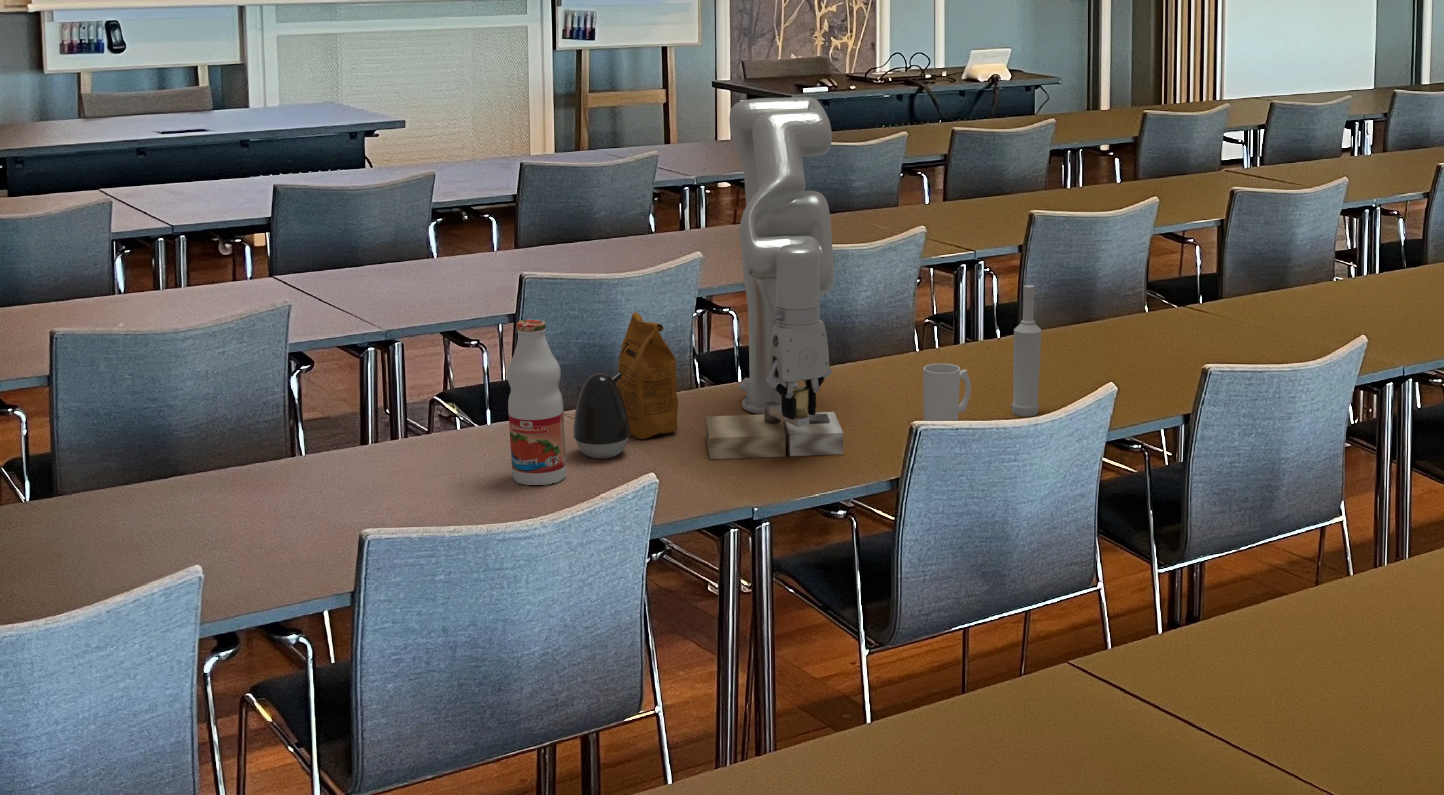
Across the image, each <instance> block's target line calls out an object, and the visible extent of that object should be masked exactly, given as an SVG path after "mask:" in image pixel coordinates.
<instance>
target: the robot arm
mask: <svg viewBox="0 0 1444 795" xmlns="http://www.w3.org/2000/svg"><path fill="white" fill-rule="evenodd" d="M728 119H729V131H730V137H731V140H732V143H733V147H734V149H735V152H736V154H737V157H738V159H739V162H740V164H741V167H742V170H743V176H744V192H745V208H744V210H743V212H742V215H741V219H740V224H739V240H740V241H739V242H740V250H741V259H742V264H743V265H742V274H743V275H742V276H743V281H744V287H745V288H744V289H745V294H746V300H747V314H748V317H747V318H748V354H749V356H748V357H749V358H748V361H749V362H748V363H749V364H748V365H749V368H748V369H749V371H748V372H749V377H745V378H743V380H742V382H740V383H738V389H739V390H740V391H746V392H745V393H746V397H744V398H742V401H741V407H742V408H743V410H745V411H747V412H749V413H753V414H755V415H762V414H764V411H762V403H765V402H770V401H775V402H779V403H780V404H781V407H782V415H783V416H784V417H786V418H789V419H791V420H793V419H795V398H793V397H792V395H793V387H795V386H799V382H803V383H804V387H807V388H809V414H810V415H815V412H816V408H817V393H819V391H820V387H821V386H822V384H823V383H824V382H825V380H826V379H828V378H829V376H830V375H831V374H832V373H833V371H832V369H831V367H830V357H829V356H830V355H829V353H830V352H829V344H828V338H827V337H828V335H827V331H826V326H825V323H824V320H822V319H820V315H821V314H820V312H821V311H820V296H822V295H825V294H826V295H827V294H828V293H829V292H830V291H831V290H833V286H834V281H835V266H834V253H833V252H834V251H833V238H832V222H831V213H830V207H829V204H828V201H827V199H826V196H824V195H823V194H822V193H821V192H819V191H815V190H805V189H806V180H805V178H806V177H805V173H804V166H803V157H819V156H820V157H821V156H822V157H823V156H824V155H826V154H828V153H829V151H830V148H831V147H832V146H831V145H832V140H833V138H832V137H833V132H832V126H831V122H830V119H829V117H828V115H827V112H826V111H825V109H824V107H823V106H822V105H821V103H820V101H819V100H818V99H816V98H815V97H810V96H802V97H801V96H796V97H795V96H793V97H792V96H791V97H761V98H760V97H759V98H751V99H750V98H749V99H745V100H742V101H738V102H737V103H735V104H734V105H733V106H732V107H731V109H730V111H729V118H728Z"/></svg>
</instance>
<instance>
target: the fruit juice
mask: <svg viewBox="0 0 1444 795" xmlns="http://www.w3.org/2000/svg"><path fill="white" fill-rule="evenodd" d="M546 324H547V323H546V321H545V320H543V319H540V318H539V319H538V318H527V319H522V320H519V321H518V322H516V330H517V331H516V333H518V338H517V342H516V346H515V350H514V352H513V356H512V357H511V360H510V362H509V364H508V366H507V371H506V375H507V380H508V384H509V387H510V393H509V396H508V400H507V401H508V402H507V403H508V404H507V405H508V407H507V409H508V410H507V411H508V423H509V425H508V426H509V442H510V456H511V458H510V459H511V460H510V461H511V473H512V478H513V480H514V482H515V483H517V484H519V483H521V484H520V485H523V484H524V486H529V485H543V486H549V484H550V485H553V484H552V483H554V484H556V483H559V482H561V481H563V480H564V479H565V478H566V474H567V457H566V456H567V455H566V441H565V440H566V437H565V416H564V401H563V396H562V393H561V391H560V389H559V385H560V382H561V381H560V380H561V375H562V374H561V367H560V364H559V362H558V360H557V359H556V358H555V356H554V355H553V353H552V351H551V348H550V346H549V343H548V340H547V338H546V334H545V333H546V331H547V325H546Z"/></svg>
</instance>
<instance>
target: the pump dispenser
mask: <svg viewBox="0 0 1444 795" xmlns="http://www.w3.org/2000/svg"><path fill="white" fill-rule="evenodd" d="M621 377H622V374H621V373H620V372H618V371H617V373H615V374H613V376H609V374H605V373H600V372H597V373H593V374H591V375H590V376H588V378H587V379H586V380H585V382H584V384H583V386H582V388H581V390H580V393H579V397H578V400H577V403H576V407H575V413H574V421H573V430H572V431H573V432H572V433H573V438H574V440H575V442H576V445H577V447H578V448H579V450H580V452H582V454H584V455H585V456H587V457H589V458H592V459H598V460H600V459H601V460H603V459H611V458H614V457H616V456H617V455H619V454H621V453H622V452H623V451H624V450H625V448H626V446H627V444H628V440H629V437H631V436H630V426H629V420H628V415H627V411H626V407H625V404H624V401H623V398H622V396H621V393H620V391H619V389H618V387H617V381H618V380H619V379H620V378H621Z"/></svg>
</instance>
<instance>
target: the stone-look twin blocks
mask: <svg viewBox="0 0 1444 795" xmlns="http://www.w3.org/2000/svg"><path fill="white" fill-rule="evenodd" d="M843 431H844V430H843V429H842V427H841V425H840V422H839V420H838V418H837V415H836V412H835V411H820V412H816V411H815V415H810V414H809V425H807V426H802V427H796V426H794V425H792V424H790V423H788V422H785V421H783V420H781V421H780V422H778V423H767V422H765V421H764V414H742V415H741V414H740V415H739V414H738V415H737V414H736V415H717V416H715V415H714V416H713V415H712V416H705V439H706V444H707V450H708V455H709V460H726V459H729V460H730V459H732V460H733V459H751V458H752V459H753V458H754V459H755V458H779V457H781V458H782V457H783V458H784V457H786V456H787V455H786V454H787V453H786V452H788V454H789V457H797V456H798V457H802V456H803V457H804V456H807V457H808V456H827V455H828V456H829V455H831V456H832V455H833V456H834V455H843V454H844V432H843ZM786 449H787V450H786Z"/></svg>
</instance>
